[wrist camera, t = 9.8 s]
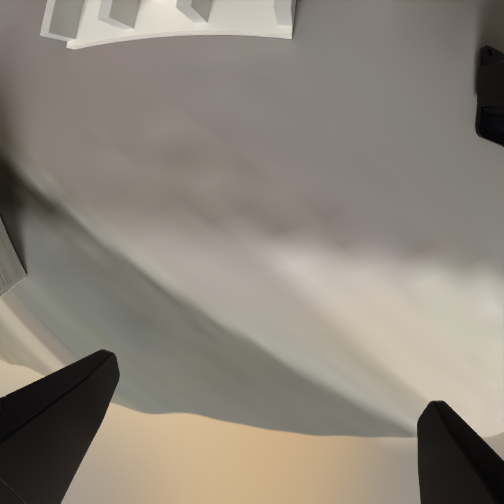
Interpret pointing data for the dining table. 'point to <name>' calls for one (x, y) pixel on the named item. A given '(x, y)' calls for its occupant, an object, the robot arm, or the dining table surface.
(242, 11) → the rack
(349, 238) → the dining table surface
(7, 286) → the supplement box
